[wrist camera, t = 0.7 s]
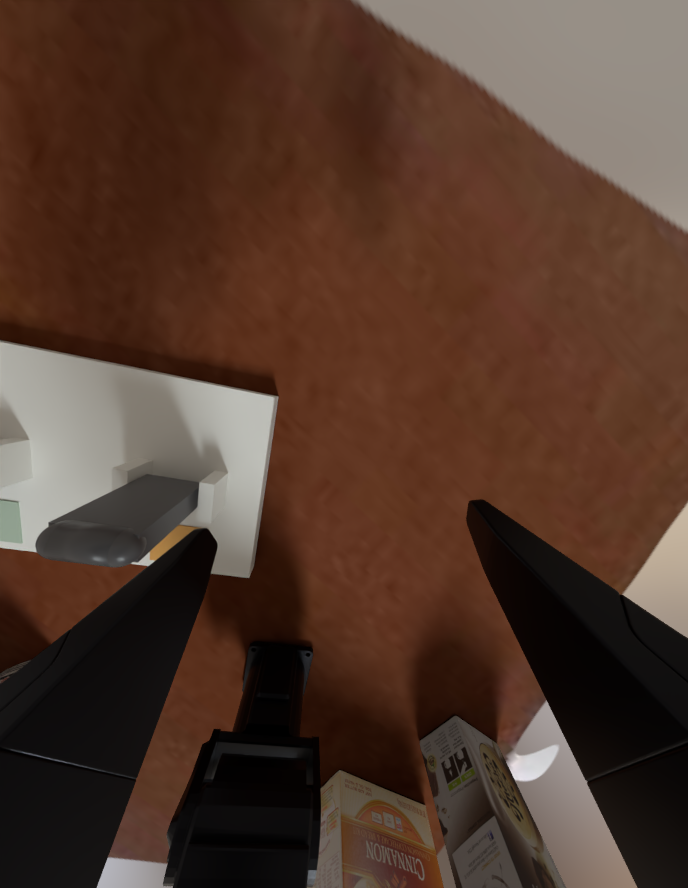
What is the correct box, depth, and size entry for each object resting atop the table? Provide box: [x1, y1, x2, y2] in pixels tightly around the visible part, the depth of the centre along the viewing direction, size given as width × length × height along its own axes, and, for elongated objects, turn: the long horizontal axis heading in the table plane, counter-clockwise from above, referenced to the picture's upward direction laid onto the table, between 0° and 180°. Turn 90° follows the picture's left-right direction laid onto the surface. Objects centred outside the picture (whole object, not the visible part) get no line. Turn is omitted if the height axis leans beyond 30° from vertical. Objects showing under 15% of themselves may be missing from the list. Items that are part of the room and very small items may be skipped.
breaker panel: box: [0, 340, 279, 578], centre depth 16 cm, size 16×24×9 cm, turn 78°
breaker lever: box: [35, 474, 199, 567], centre depth 15 cm, size 2×4×8 cm, turn 78°
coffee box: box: [420, 716, 566, 888], centre depth 23 cm, size 9×6×16 cm
